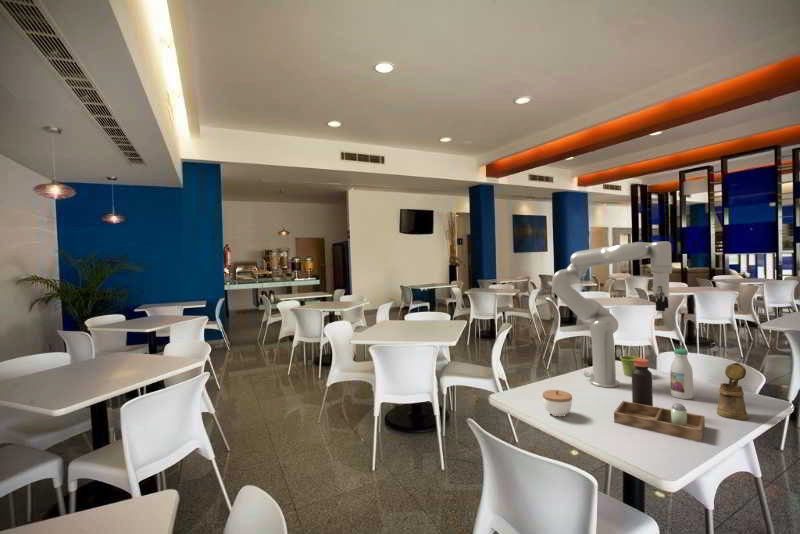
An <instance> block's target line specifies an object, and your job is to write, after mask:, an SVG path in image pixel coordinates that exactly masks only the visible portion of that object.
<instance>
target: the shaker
mask: <svg viewBox="0 0 800 534" xmlns="http://www.w3.org/2000/svg"><path fill="white" fill-rule="evenodd" d="M670 410H671V423H672V424H676V425H681V426H686V427H687V413H688V410H687V409H686V406H684V405H683V404H681V403H680V402H679V403H678V402H677V403H673V404H672V406H671V407H670Z"/></svg>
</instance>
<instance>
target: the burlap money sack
mask: <svg viewBox="0 0 800 534" xmlns="http://www.w3.org/2000/svg"><path fill="white" fill-rule="evenodd" d="M746 375H747V370H746V368H745V367H744V366H743V365H741V364H740V363H738V362H735V363H730V364H729V365H727V366H726V368H725V376H726V377H727V378H728V379H729V380H728V383H726V382H725V383H723V382H722V383H721V384H720V387H719V388H718V389H719V390H718V392H719V395H718V396H719V397H718V403H717V407H716V413H717V415H719V416H721V417H722V418H726V419H730V420H734V421H735V420H736V421H746V420H748V419H749V414H748V412H747V409H746V404H745V399H744V397H745V396H744V395H745V394H744V390H743V388H742V386H740V385H738V384H739V381H740V380H742V379H744V378H745V377H746Z"/></svg>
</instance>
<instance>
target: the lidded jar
mask: <svg viewBox="0 0 800 534" xmlns="http://www.w3.org/2000/svg"><path fill="white" fill-rule="evenodd" d="M542 401H543V406H544V409H545V410H546V411H547V412H548V414H549V413H550V414H552V415H556V416H564V415H566V416H567V414H569V412H570V411H571V409H572V405H573V396H572V394H571V393H570V392H568V391H565V390H559V389H548V390H544V391H543V392H542ZM550 414H549V415H550ZM552 415H551V416H552ZM564 417H565V416H564Z"/></svg>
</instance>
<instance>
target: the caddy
mask: <svg viewBox="0 0 800 534" xmlns="http://www.w3.org/2000/svg"><path fill="white" fill-rule="evenodd" d="M705 418H706V417H705V416H704V415H699V414H694V413H690V412H687V427H686V426H681V425H676V424H672V423H671V409H669V408H664V407H659V406H654V405H653V406H648V405H643V404H637V403H632V402H631V401H625V400H623V401H622V402H620V404H619V405H618V407H617V408H616V409H615V410H614V411H613V422H614V423H615V424H618V425H619V424H620V425H623V426H628V427H633V428H636V429H641V430H645V431H650V432H655V433H659V434H662V435H663V434H664V435H666V436H667V435H668V436H671V437H677V438H682V439H685V440H689V441H690V440H691V441H695V442H700V443H702V442H703V437H704V431H705V428H706V427H705V426H706V425H705V424H706V422H705V421H706V420H705Z"/></svg>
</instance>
